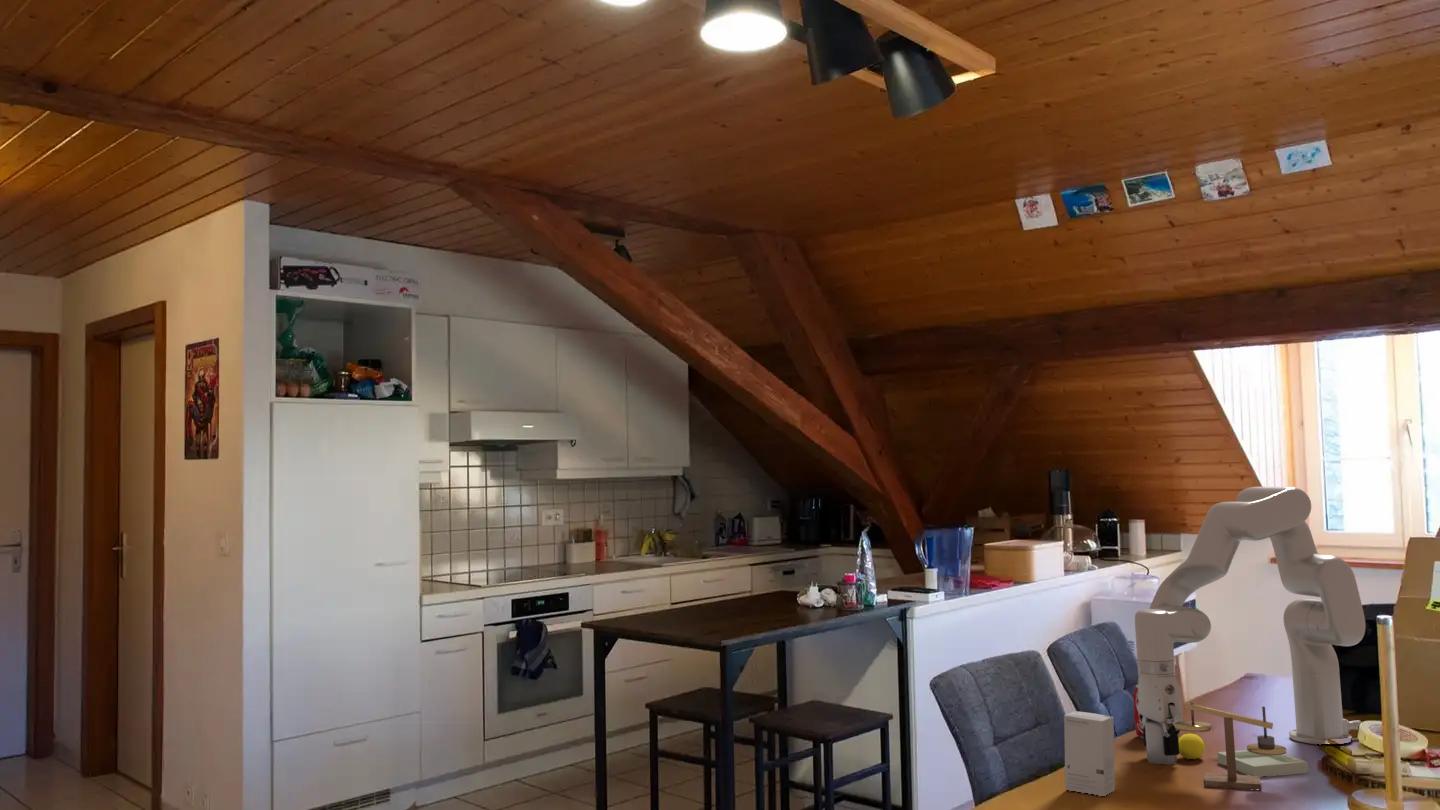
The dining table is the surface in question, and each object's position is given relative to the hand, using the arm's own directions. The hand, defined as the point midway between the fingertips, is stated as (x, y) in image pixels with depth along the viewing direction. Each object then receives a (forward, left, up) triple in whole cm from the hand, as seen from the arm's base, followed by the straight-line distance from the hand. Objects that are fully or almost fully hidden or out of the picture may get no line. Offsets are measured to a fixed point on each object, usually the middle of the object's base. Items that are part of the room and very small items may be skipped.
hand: (1161, 749), depth 235 cm
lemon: (-7, 0, -3) cm, 7 cm away
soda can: (-9, -19, -3) cm, 21 cm away
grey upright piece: (0, 0, -2) cm, 2 cm away
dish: (-16, +11, -2) cm, 20 cm away
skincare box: (+25, +16, -3) cm, 30 cm away
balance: (-3, +20, -2) cm, 20 cm away
